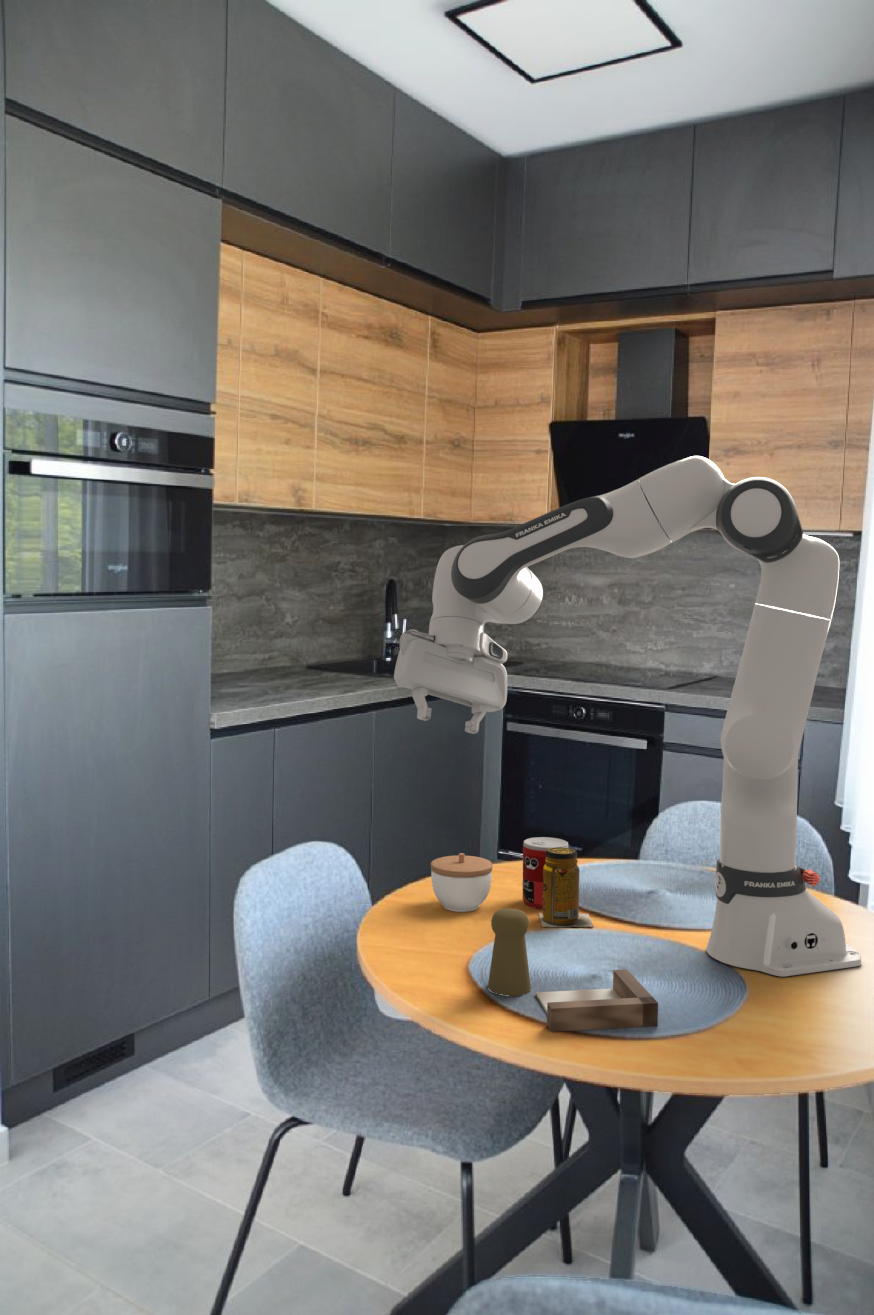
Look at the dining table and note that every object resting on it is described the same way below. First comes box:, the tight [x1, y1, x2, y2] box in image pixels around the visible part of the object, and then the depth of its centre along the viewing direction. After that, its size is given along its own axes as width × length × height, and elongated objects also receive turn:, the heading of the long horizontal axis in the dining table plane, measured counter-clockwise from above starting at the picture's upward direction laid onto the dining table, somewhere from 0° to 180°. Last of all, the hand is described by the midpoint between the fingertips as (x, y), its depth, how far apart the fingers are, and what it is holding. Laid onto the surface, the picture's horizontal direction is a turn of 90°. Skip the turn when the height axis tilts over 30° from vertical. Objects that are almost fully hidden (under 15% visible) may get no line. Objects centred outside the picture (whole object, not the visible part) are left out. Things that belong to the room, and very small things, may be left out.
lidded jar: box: [430, 852, 493, 913], centre depth 186 cm, size 11×11×9 cm
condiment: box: [538, 847, 595, 928], centre depth 179 cm, size 7×8×12 cm
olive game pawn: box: [487, 908, 532, 997], centre depth 148 cm, size 6×6×11 cm
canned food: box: [522, 836, 569, 910], centre depth 188 cm, size 8×8×11 cm
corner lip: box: [535, 968, 659, 1033], centre depth 141 cm, size 14×12×3 cm
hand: (448, 726), depth 168 cm, fingers open, 8 cm apart
